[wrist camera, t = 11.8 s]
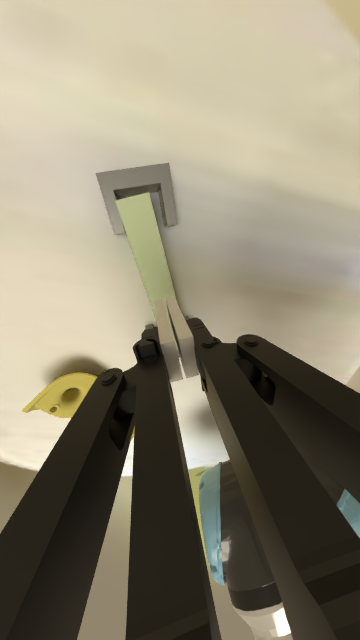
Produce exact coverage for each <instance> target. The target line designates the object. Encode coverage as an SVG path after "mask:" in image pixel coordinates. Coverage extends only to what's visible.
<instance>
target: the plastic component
mask: <svg viewBox="0 0 360 640" xmlns="http://www.w3.org/2000/svg"><path fill="white" fill-rule="evenodd" d="M97 377H98V376H95V375H92V374H88V373H81V372H77V373H71V374H67V375H64V376H61V377H59V378H57V379H56V380H54V381H53V382H52V383H50V384H49V385H48V386H47V387H46V388H45V389H44V390H43V391H42V392H41V393H39V394H38V395H37V396H36V397H35V398H34V399H33V400H32V401H31V402H30V403H29V404H28V405H27V406H26V407H25V408H24V409H23V410H22V411H23V412H26V413H27V412H29V411H32V410H38V409H40V410H42V411H45V412H47V413H48V414H52V415H54V416H56V417H60V418H69V417H70V418H72V417H73V415H74V414H75V412H76V410H77V409H78V407H79V405H80V404H81V402H82V401H83V399H84V397H85V396H86V394H87V392H88V391H89V389H90V388H91V386H92V384H93V383H94V381H95V380H96V378H97ZM70 388H75V389H73V390H68V389H70ZM134 431H135V426H134V430H133V433H132V437H131V439H132V438H133V437H134Z"/></svg>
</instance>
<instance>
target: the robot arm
mask: <svg viewBox="0 0 360 640" xmlns="http://www.w3.org/2000/svg"><path fill="white" fill-rule="evenodd" d="M165 300H166V305H167V309H168V314H169V319H170V322H169V319H168V316H167V312H166V309H165V305H164V302H163V299H162V300H157V301H154V304H155V311H156V318H157V325H158V327H155V328H151V329H146V330H144V332H143V333H142V339H141V340H140V341H138V342H137V343H136V344H135V345H134V346H133V350H134V353H135V356H136V359H137V364H136V365H135V366H134V367H132V368H130V369H129V370H126V371H124V372H122V370H121V369H119V368H113V369H109V370H107V371H104V372H103V373H102V374H100V375H99V376H98V377H97V378H96V380H95V381H94V383H93V384H92V386H91V388H90V389H89V391H88V392H87V394H86V396H85V397H84V399H83V401H82V402H81V404H80V405H79V407H78V409H77V410H76V412H75V414H74V415H73V417H72V418H71V420H70V422H69V423H68V425H67V427H66V428H65V430H64V431H63V433H62V435H61V436H60V438H59V440H58V441H57V443H56V444H55V446H54V448H53V449H52V451H51V452H50V454H49V456H48V457H47V459H46V461H45V462H44V464H43V465H42V467H41V469H40V470H39V472H38V474H37V475H36V477H35V478H34V480H33V482H32V483H31V485H30V487H29V488H28V490H27V491H26V493H25V495H24V496H23V498H22V500H21V501H20V503H19V505H18V506H17V508H16V509H15V511H14V513H13V514H12V516H11V517H10V519H9V521H8V522H7V524H6V526H5V527H4V529H3V530H2V532H1V534H0V640H77V637H78V633H79V629H80V626H81V622H82V618H83V615H84V611H85V607H86V603H87V599H88V596H89V592H90V589H91V585H92V581H93V578H94V574H95V570H96V566H97V563H98V559H99V555H100V552H101V548H102V544H103V541H104V537H105V533H106V530H107V525H108V522H109V518H110V514H111V511H112V507H113V503H114V500H115V496H116V493H117V489H118V485H119V481H120V478H121V474H122V470H123V467H124V463H125V459H126V456H127V452H128V448H129V444H130V441H131V437H132V433H133V430H134V426H135V431H134V455H133V479H132V504H131V529H130V552H129V577H128V600H127V625H126V640H222V639H221V635H220V630H219V626H218V621H217V616H216V611H215V606H214V601H213V596H212V591H211V586H210V581H209V576H208V571H207V566H206V560H205V556H204V550H203V545H202V540H201V535H200V530H199V525H198V519H197V514H196V509H195V505H194V499H193V494H192V489H191V484H190V479H189V473H188V468H187V463H186V458H185V453H184V448H183V443H182V438H181V433H180V428H179V422H178V417H177V412H176V407H175V402H174V397H173V392H172V388H171V384H170V382H174V381H178V380H181V379H183V377H182V373H181V368H180V363H179V358H178V354H177V349H176V345H177V348H178V351H179V355H180V358H181V362H182V365H183V368H184V372H185V375H186V378H189V377H193V376H196V375H199V373H200V376H201V383H202V390H203V391H205V393H206V396H207V399H208V401H209V404H210V407H211V409H212V412H213V415H214V417H215V420H216V423H217V426H218V428H219V431H220V434H221V436H222V439H223V442H224V444H225V447H226V450H227V452H228V455H229V458H230V460H228V461H225V462H223V463H222V462H219V464H218V465H216V466H214V467H212V468H210V469H208V470H206V471H204V472H203V474H202V475H201V478H200V482H199V503H200V514H201V522H202V530H203V537H204V542H205V548H206V553H207V558H208V561H209V563H210V568H211V573H212V576H213V578H214V580H215V582H216V583H219V584H221V585H224V584H225V582H226V583H227V585H228V590H229V593H230V597H231V601H232V605H233V608H234V610H235V611H236V612H237V613H238V614H239V615H240V616H241V617H242V618H243V619H244V620H245V621H246V622H247V623H248V624H249V625H250V627H251V629H252V631H253V635H254V639H255V640H360V393H358V392H356V391H354V390H353V389H351V388H349V387H347V386H346V385H344V384H342V383H340V382H339V381H337V380H335V379H333V378H331V377H330V376H328V375H326V374H324V373H323V372H321V371H319V370H317V369H316V368H314V367H312V366H310V365H309V364H307V363H305V362H303V361H302V360H300V359H298V358H296V357H295V356H293V355H291V354H289V353H288V352H286V351H284V350H282V349H281V348H279V347H277V346H275V345H274V344H272V343H270V342H268V341H266V340H265V339H263V338H261V337H259V336H256V335H243V336H240V337H239V338H238V339H237V343H222V342H221V341H220V340H219V339H218V338H216V337H212V335H211V334H210V332H209V331H208V329H207V328H206V326H205V325H204V323H203V322H202V321H201V320H200V319H198V318H192V319H187V320H185V319H184V317H183V314H182V312H181V310H180V308H179V306H178V304H177V302H176V300H175V298H174V297H171V298H166V299H165ZM170 323H171V326H170ZM171 328H172V329H171ZM172 331H173V333H172ZM173 334H174V336H173ZM174 338H175V340H174ZM175 341H176V344H175ZM198 370H199V372H198Z"/></svg>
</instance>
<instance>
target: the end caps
mask: <svg viewBox="0 0 360 640" xmlns="http://www.w3.org/2000/svg"><path fill="white" fill-rule="evenodd" d="M96 176H97V179H98V182H99V185H100V189H101V192H102V195H103V199H104V202H105V205H106V208H107V212H108V215H109V218H110V222H111V225H112V228H113V231H114V235H123V234H126V231H125V228H124V225H123V222H122V219H121V217H120V214H119V211H118V208H117V205H116V202H115V201H116V200H119V199H118V197H123V196H129V195H136V194H142V193H148V192H155V191H158V193H159V198H160V204H161V210H162V215H163V221H164V226H165V227H169V226H174V225H176V224H178V223H177V216H176V209H175V202H174V195H173V188H172V181H171V174H170V167H169V163H165V164H157V165H150V166H143V167H136V168H129V169H122V170H115V171H107V172H100V173H96ZM184 319H185V320H187V319H188V317H184ZM151 328H153V325H148V326H145V330H146V329H151ZM177 354H178V358H179V357H180V355H179V351H178V350H177Z"/></svg>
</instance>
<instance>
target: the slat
mask: <svg viewBox="0 0 360 640" xmlns="http://www.w3.org/2000/svg"><path fill="white" fill-rule="evenodd" d="M115 202H116V205H117V208H118V211H119V214H120V217H121V219H122V222H123V225H124V228H125V231H126V234H127V237H128V240H129V243H130V246H131V249H132V252H133V254H134V257H135V260H136V263H137V266H138V269H139V272H140V275H141V278H142V281H143V284H144V287H145V290H146V292H147V295H148V298H149V301H150V304H151V307H152V310H153V313H154V316H155V319H156V322H157V318H156V311H155V304H154V301H157V300H162V299H163V302H164V305H165V309H166V312H167V316H168V319H169V314H168V309H167V305H166V300H165V299H166V298H171V297H174V298H175V300H176V302H177V299H176V296H175V292H174V288H173V284H172V280H171V276H170V272H169V268H168V265H167V261H166V257H165V253H164V249H163V245H162V241H161V237H160V234H159V230H158V226H157V222H156V218H155V214H154V210H153V207H152V203H151V199H150V195H149V192H148V193H144V194H140V195H136V196H132V197H128V198H124V199H120V200H116V201H115ZM177 304H178V303H177ZM169 322H170V319H169ZM170 326H171V323H170ZM171 329H172V328H171ZM172 333H173V331H172ZM173 336H174V334H173ZM174 340H175V338H174ZM175 344H176V341H175ZM176 349H177V350H178V348H177V345H176Z"/></svg>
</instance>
